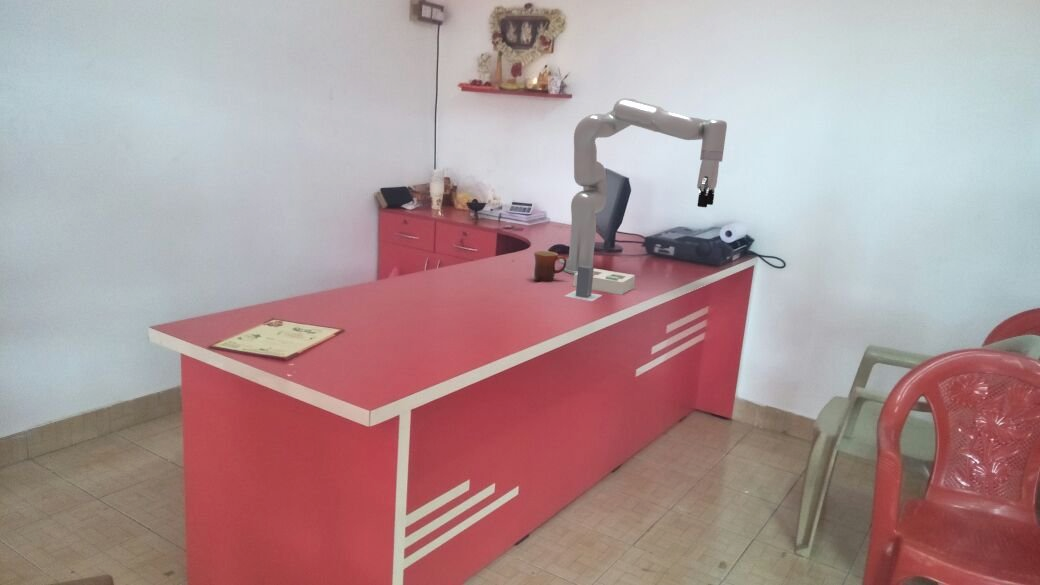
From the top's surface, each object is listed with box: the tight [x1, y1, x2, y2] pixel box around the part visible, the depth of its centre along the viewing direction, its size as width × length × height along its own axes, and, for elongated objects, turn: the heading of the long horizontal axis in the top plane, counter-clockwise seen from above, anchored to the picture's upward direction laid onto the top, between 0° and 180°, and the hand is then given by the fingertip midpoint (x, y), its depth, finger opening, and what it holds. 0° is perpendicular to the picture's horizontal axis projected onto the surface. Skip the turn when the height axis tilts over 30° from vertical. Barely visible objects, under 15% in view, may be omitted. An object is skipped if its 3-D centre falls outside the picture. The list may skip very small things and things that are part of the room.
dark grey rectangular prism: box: [575, 265, 595, 298], centre depth 238 cm, size 4×4×10 cm
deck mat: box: [564, 289, 603, 302], centre depth 239 cm, size 10×10×1 cm
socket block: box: [572, 267, 636, 296], centre depth 253 cm, size 18×14×6 cm
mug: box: [533, 250, 567, 283], centre depth 258 cm, size 12×9×10 cm
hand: (705, 205), depth 251 cm, fingers open, 9 cm apart
